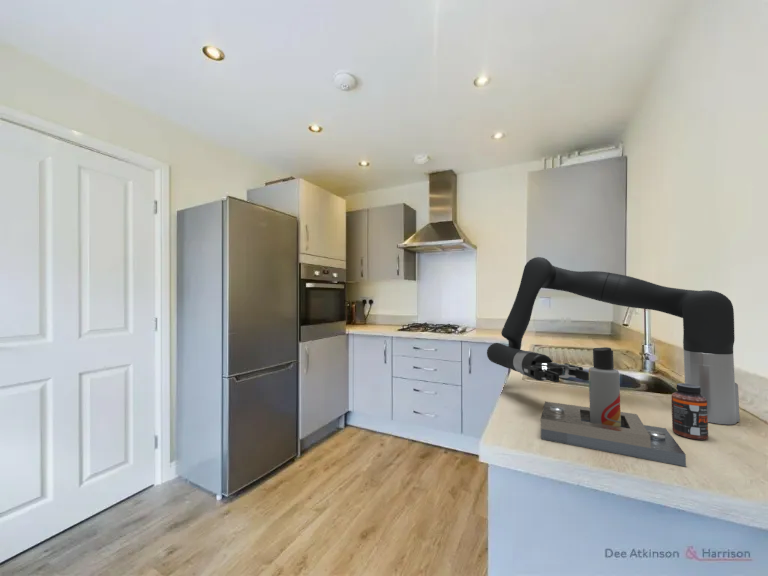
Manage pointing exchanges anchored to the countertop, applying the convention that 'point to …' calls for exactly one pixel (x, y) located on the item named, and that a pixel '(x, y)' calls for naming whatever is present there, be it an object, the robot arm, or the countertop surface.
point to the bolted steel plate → (609, 434)
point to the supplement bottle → (689, 412)
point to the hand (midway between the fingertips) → (573, 377)
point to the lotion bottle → (604, 389)
